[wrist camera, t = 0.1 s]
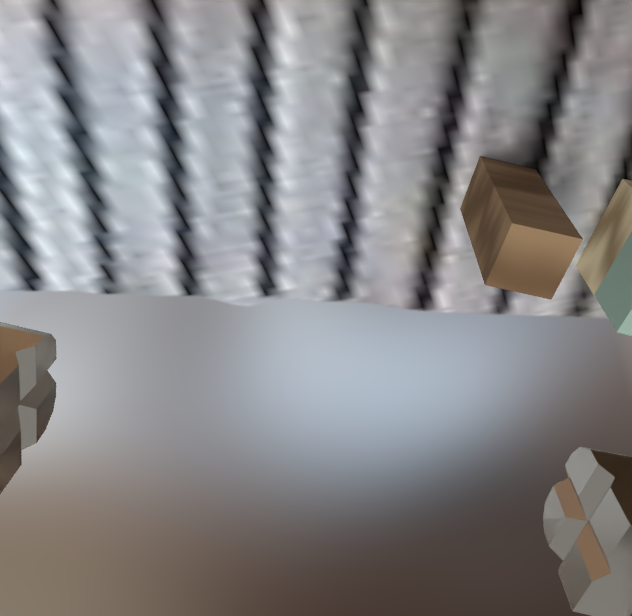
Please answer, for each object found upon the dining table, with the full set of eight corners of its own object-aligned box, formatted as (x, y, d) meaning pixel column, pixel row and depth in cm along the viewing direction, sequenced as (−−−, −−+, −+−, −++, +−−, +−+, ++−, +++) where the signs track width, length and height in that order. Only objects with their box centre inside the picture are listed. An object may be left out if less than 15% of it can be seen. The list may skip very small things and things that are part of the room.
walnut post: (480, 156, 46) (511, 223, 36) (535, 169, 46) (582, 239, 36) (460, 208, 48) (485, 284, 38) (513, 220, 49) (551, 299, 39)
